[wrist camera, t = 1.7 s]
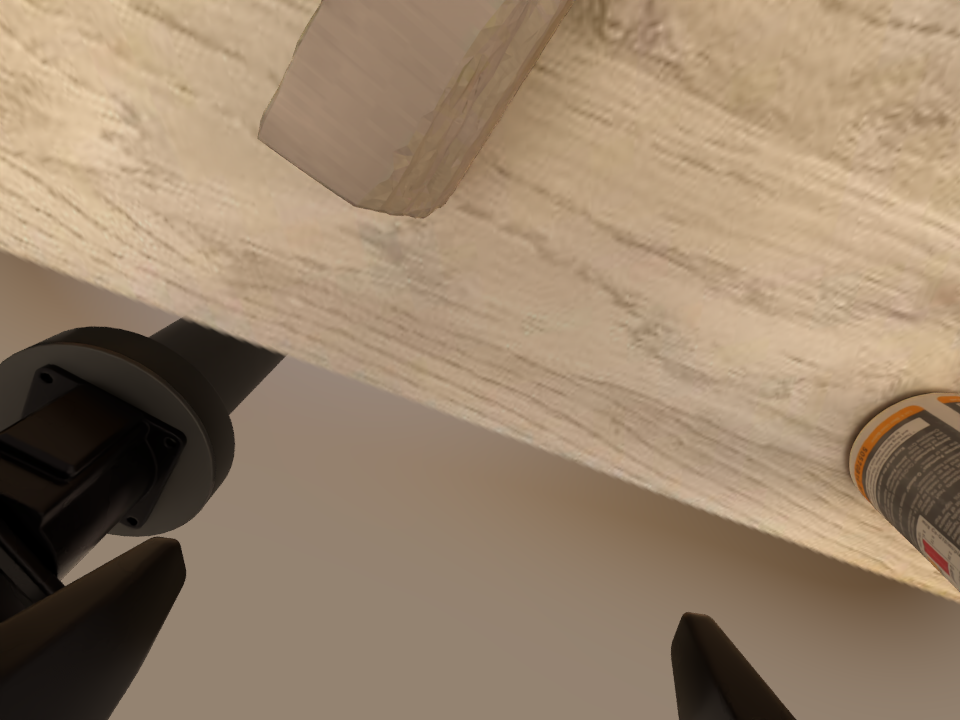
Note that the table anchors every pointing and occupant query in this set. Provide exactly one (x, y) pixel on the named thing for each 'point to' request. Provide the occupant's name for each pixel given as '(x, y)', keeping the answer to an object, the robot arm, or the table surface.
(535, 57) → the fossil
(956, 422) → the pill bottle
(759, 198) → the table surface
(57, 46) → the table surface
